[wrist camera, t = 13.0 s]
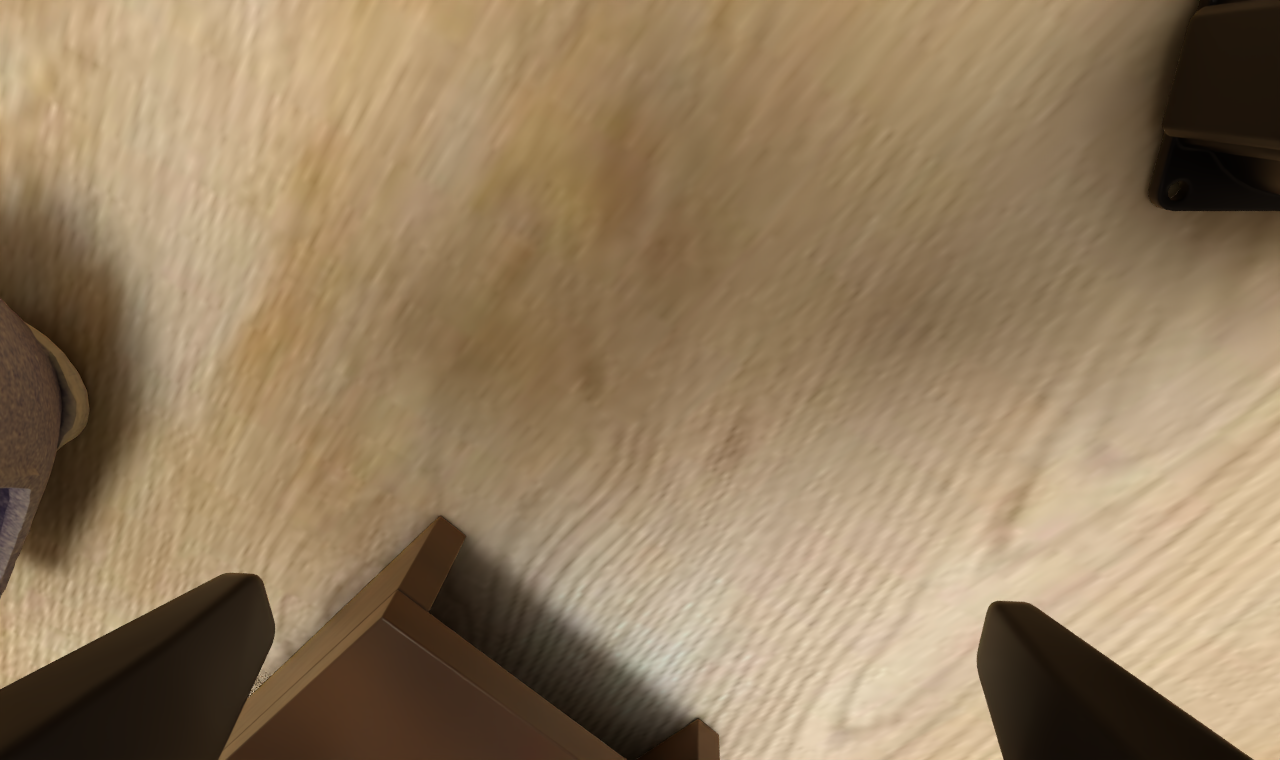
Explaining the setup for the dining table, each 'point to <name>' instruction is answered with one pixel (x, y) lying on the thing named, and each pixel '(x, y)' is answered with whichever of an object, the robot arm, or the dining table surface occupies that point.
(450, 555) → the wooden footstool
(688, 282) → the dining table surface
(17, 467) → the toy boat
